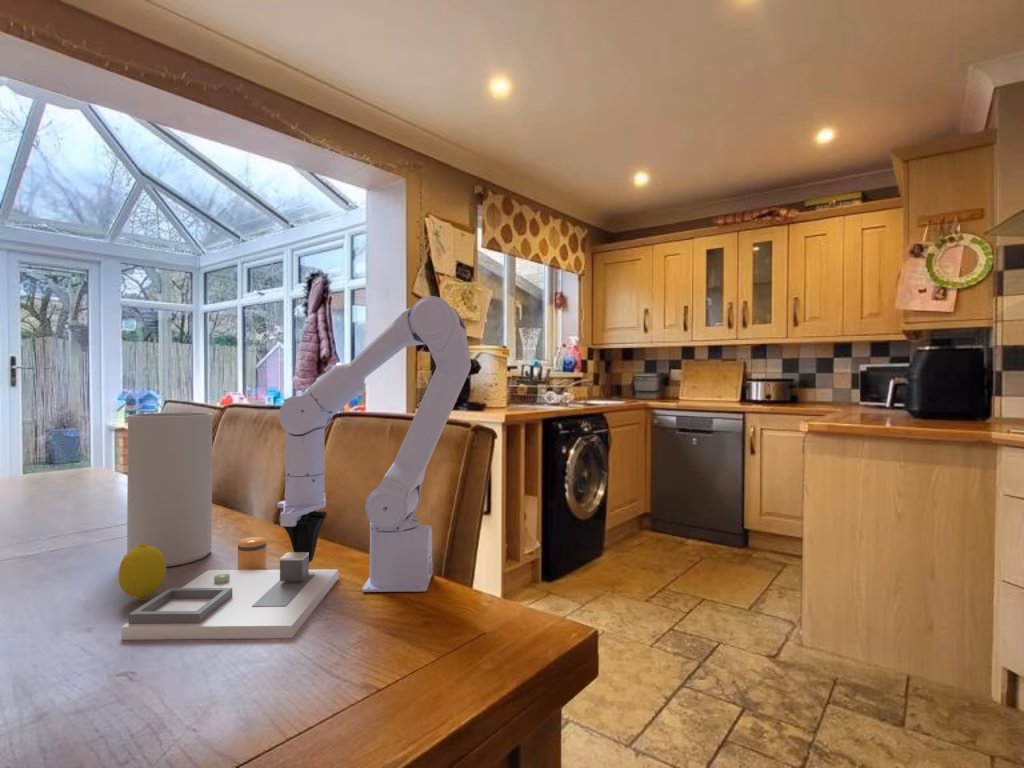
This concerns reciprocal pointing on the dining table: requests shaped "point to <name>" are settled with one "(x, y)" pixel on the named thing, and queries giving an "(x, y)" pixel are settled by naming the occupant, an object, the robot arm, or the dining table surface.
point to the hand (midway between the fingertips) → (304, 561)
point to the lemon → (142, 571)
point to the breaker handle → (294, 566)
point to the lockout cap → (252, 553)
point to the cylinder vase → (170, 484)
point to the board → (231, 606)
